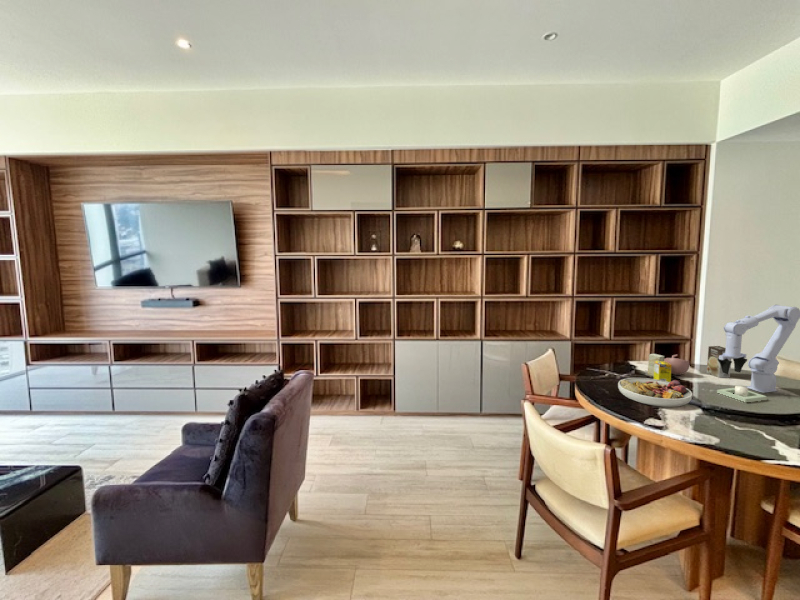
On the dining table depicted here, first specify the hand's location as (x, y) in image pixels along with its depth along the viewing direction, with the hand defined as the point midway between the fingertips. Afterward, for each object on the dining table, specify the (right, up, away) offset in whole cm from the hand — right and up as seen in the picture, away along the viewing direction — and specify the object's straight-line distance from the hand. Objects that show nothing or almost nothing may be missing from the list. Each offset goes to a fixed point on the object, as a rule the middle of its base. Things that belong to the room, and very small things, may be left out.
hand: (731, 372), depth 186 cm
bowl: (-42, -12, -4) cm, 44 cm away
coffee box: (+14, -7, +24) cm, 29 cm away
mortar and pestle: (-7, -7, +28) cm, 30 cm away
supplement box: (-24, -9, +16) cm, 30 cm away
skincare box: (-20, -7, +27) cm, 34 cm away
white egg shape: (-2, -10, -7) cm, 13 cm away
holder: (-2, -10, -7) cm, 13 cm away
